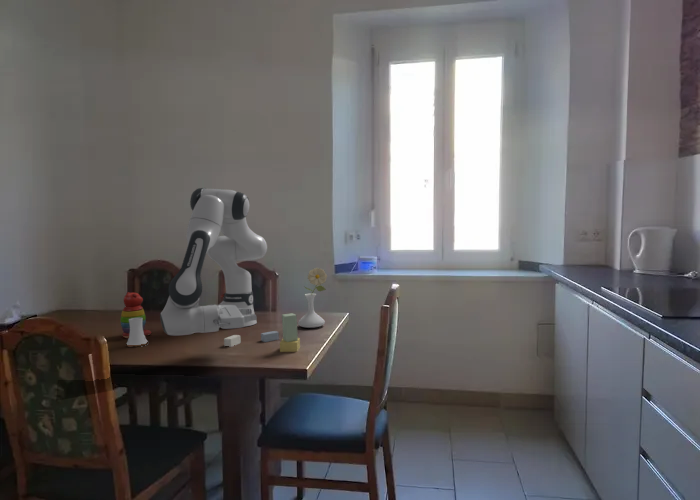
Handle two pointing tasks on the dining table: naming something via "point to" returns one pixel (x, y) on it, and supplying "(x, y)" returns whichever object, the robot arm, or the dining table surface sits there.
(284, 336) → the green brick
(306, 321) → the flower in vase
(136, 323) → the vase
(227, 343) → the cream brick
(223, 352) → the dining table surface
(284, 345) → the mustard brick
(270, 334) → the slate brick
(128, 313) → the stacking bear
